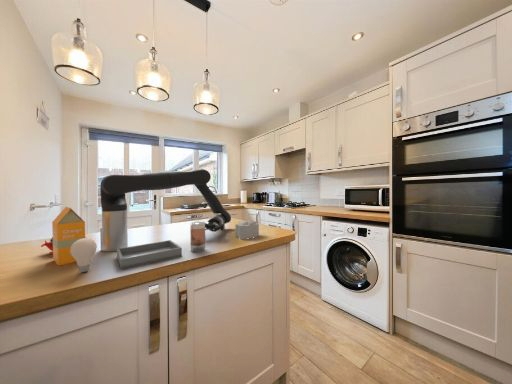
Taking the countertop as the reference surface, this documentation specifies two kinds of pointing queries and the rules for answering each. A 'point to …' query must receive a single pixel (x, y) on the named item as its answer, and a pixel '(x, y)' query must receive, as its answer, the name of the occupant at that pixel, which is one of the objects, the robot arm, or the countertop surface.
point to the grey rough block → (246, 229)
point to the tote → (147, 254)
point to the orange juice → (66, 235)
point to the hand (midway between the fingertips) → (206, 229)
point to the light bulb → (83, 253)
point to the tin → (197, 237)
